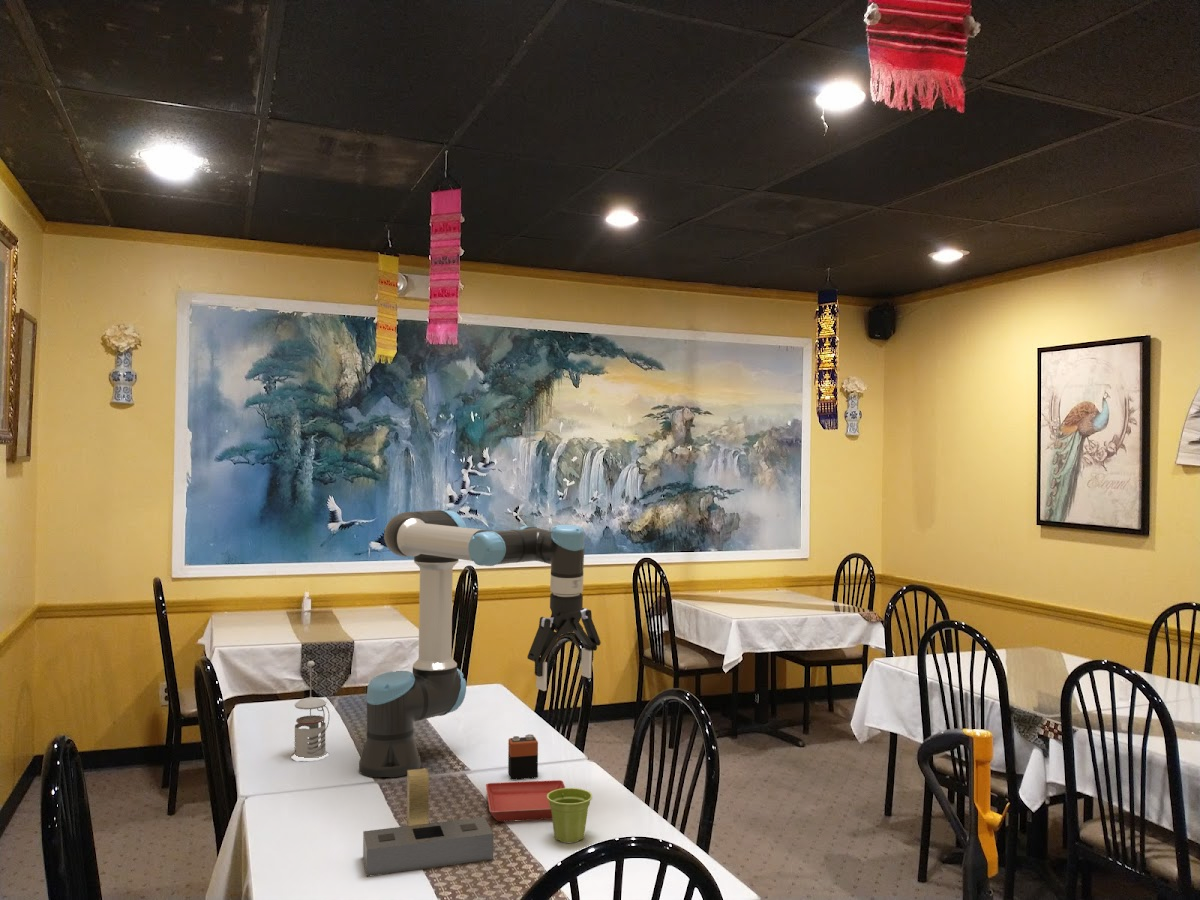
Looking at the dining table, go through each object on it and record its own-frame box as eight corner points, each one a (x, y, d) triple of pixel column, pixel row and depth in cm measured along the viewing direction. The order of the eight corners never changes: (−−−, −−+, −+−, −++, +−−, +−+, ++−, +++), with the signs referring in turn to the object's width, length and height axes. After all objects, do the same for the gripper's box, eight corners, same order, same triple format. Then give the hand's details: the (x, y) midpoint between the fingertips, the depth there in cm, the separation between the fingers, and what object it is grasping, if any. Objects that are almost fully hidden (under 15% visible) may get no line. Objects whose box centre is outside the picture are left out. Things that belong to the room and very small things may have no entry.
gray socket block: (366, 876, 172) (367, 849, 172) (363, 856, 180) (363, 830, 180) (493, 859, 179) (493, 833, 179) (483, 841, 188) (484, 816, 188)
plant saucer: (562, 792, 217) (562, 778, 217) (573, 822, 199) (573, 806, 199) (485, 797, 214) (485, 783, 214) (489, 827, 196) (489, 811, 196)
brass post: (409, 834, 191) (409, 776, 192) (406, 826, 195) (407, 770, 195) (428, 831, 193) (428, 774, 193) (425, 824, 197) (426, 768, 197)
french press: (282, 759, 239) (283, 662, 240) (311, 746, 250) (312, 654, 251) (312, 763, 236) (313, 666, 236) (341, 750, 246) (342, 657, 247)
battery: (538, 778, 226) (538, 737, 226) (510, 780, 224) (510, 739, 224) (534, 772, 230) (535, 732, 230) (507, 774, 228) (508, 734, 229)
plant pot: (545, 829, 194) (546, 787, 195) (590, 827, 195) (590, 786, 195) (547, 847, 185) (547, 804, 185) (593, 846, 186) (594, 803, 186)
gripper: (534, 605, 199) (532, 699, 202) (617, 588, 216) (614, 675, 218) (513, 597, 205) (511, 690, 207) (595, 581, 222) (592, 667, 224)
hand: (564, 682), depth 213 cm, fingers open, 13 cm apart
